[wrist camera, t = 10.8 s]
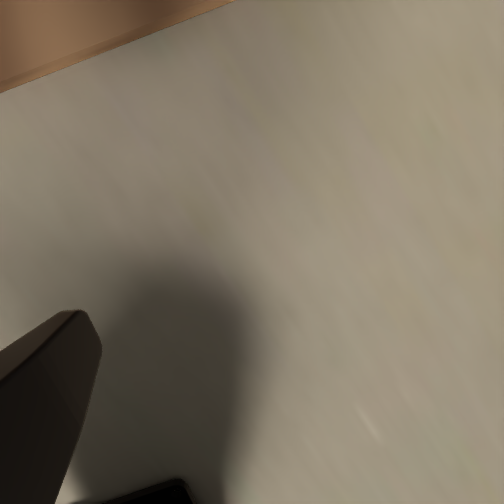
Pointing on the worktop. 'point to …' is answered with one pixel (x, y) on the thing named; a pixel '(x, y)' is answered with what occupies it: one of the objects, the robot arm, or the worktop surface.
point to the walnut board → (78, 31)
